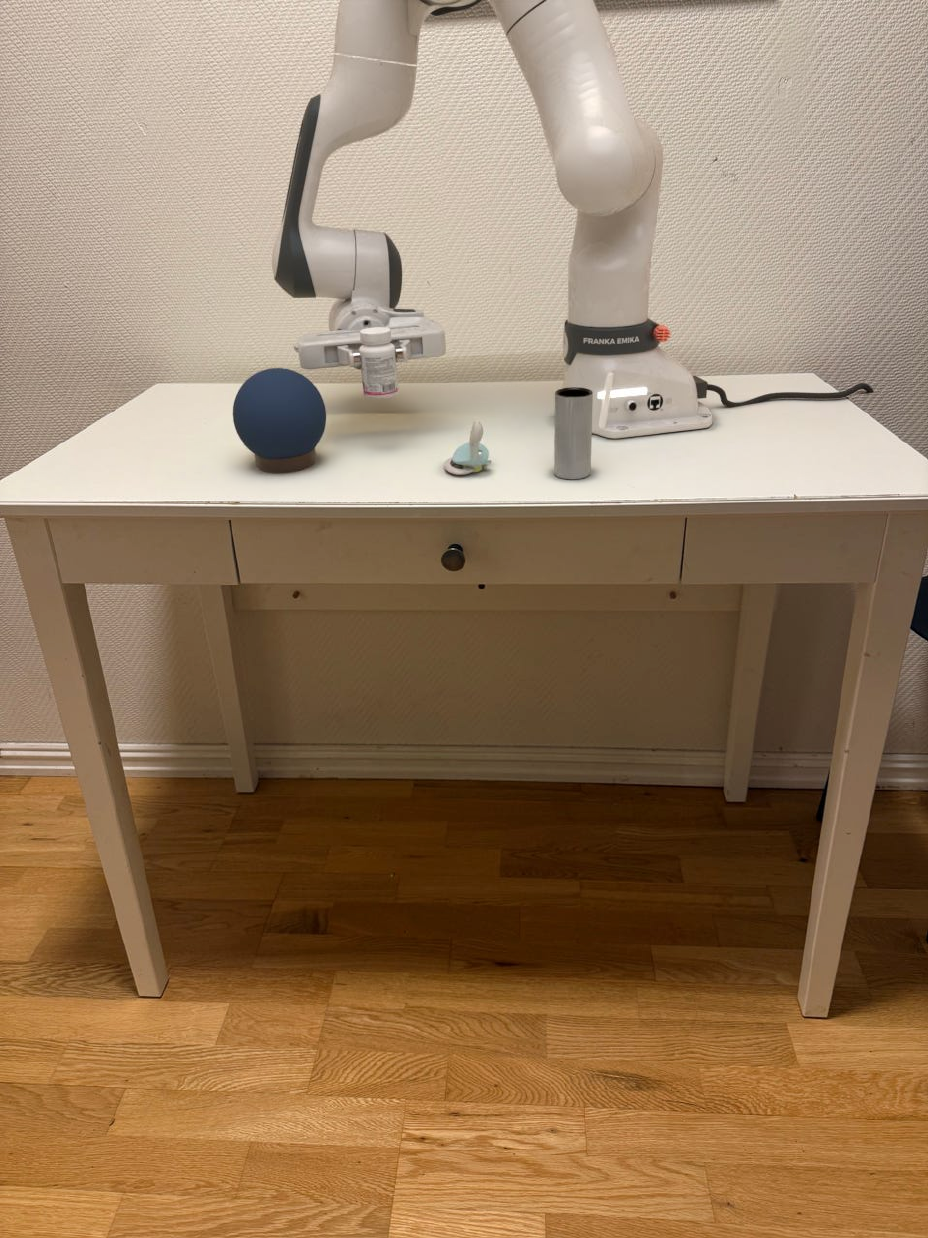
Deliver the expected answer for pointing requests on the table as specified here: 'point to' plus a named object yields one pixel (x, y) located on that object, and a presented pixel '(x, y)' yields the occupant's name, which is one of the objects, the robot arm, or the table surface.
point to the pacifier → (470, 453)
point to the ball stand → (286, 463)
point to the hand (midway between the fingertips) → (379, 357)
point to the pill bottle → (378, 363)
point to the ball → (279, 414)
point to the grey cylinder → (573, 432)
